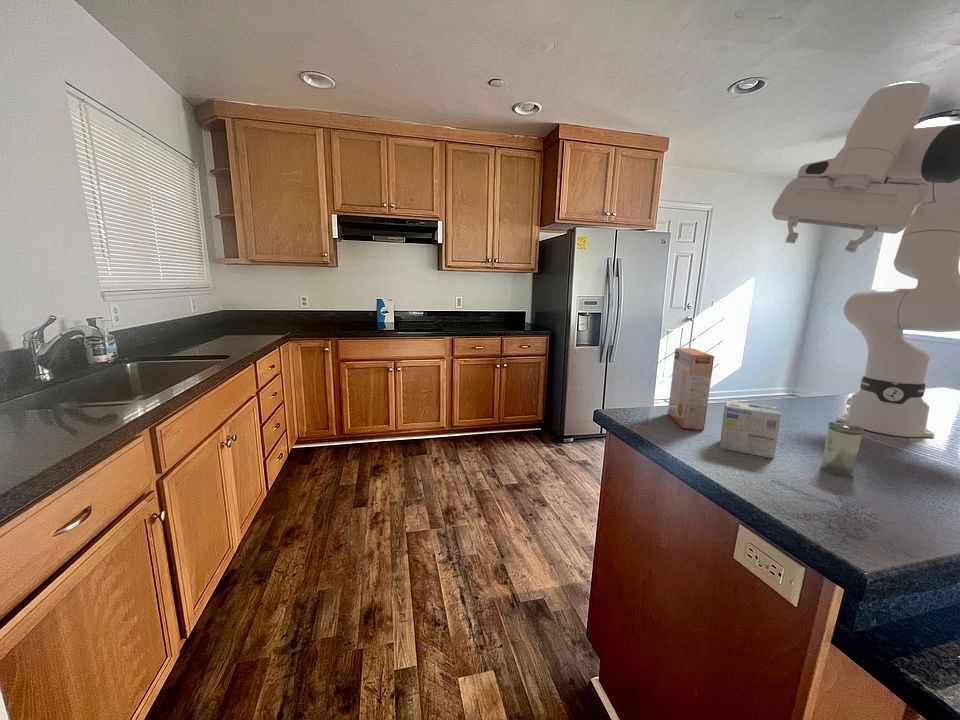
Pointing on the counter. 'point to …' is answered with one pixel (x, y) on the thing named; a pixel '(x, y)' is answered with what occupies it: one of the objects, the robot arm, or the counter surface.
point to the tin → (841, 448)
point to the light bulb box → (750, 428)
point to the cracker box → (690, 387)
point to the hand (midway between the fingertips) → (818, 246)
